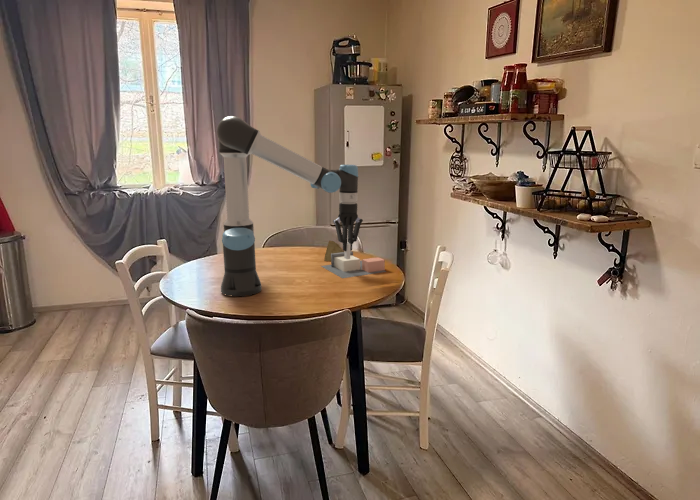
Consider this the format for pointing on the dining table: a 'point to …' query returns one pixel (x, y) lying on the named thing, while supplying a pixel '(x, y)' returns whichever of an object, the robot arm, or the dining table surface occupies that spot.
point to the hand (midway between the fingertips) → (347, 258)
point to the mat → (349, 273)
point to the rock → (332, 250)
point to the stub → (373, 264)
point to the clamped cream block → (345, 261)
